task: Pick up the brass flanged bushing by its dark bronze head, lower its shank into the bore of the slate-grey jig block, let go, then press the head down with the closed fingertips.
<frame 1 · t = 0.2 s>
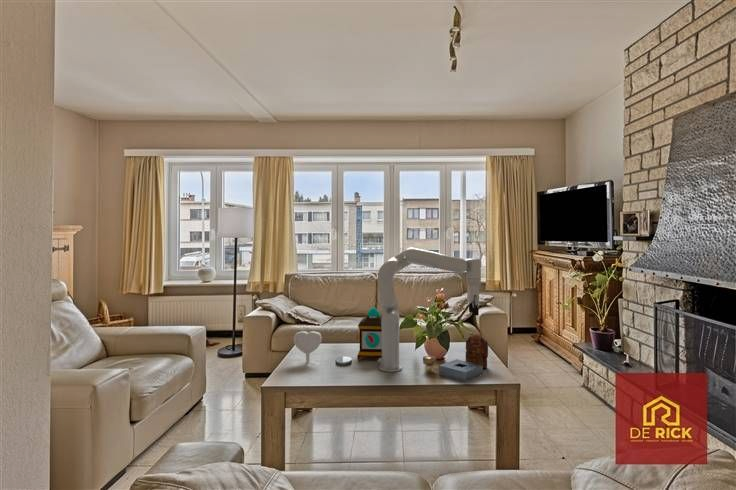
hand: (473, 313, 225), 31 cm above the table, tool pointing down, fingers open, 9 cm apart
wooden figurine: (476, 368, 231), on the table
heart sculpture: (307, 363, 240), on the table
decorative lantern: (373, 357, 252), on the table
jig: (460, 375, 219), on the table
bushing: (429, 371, 224), on the table
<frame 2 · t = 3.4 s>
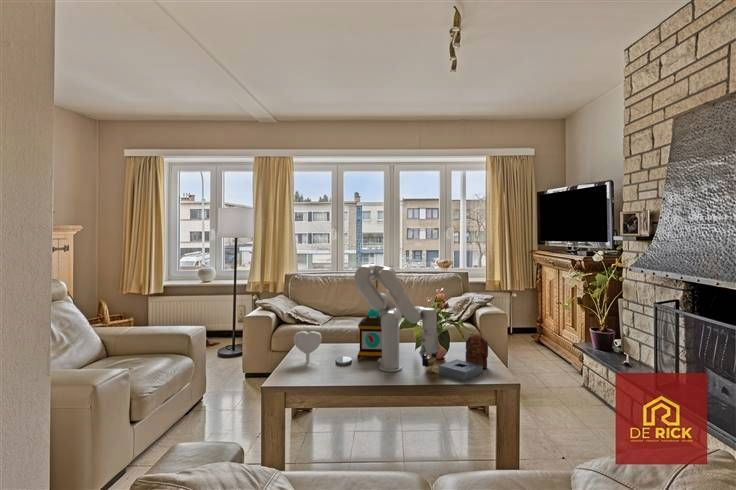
hand: (429, 364, 224), 4 cm above the table, tool pointing down, fingers closed on bushing, 6 cm apart
bushing: (429, 371, 225), on the table, touching gripper
everything else where it was.
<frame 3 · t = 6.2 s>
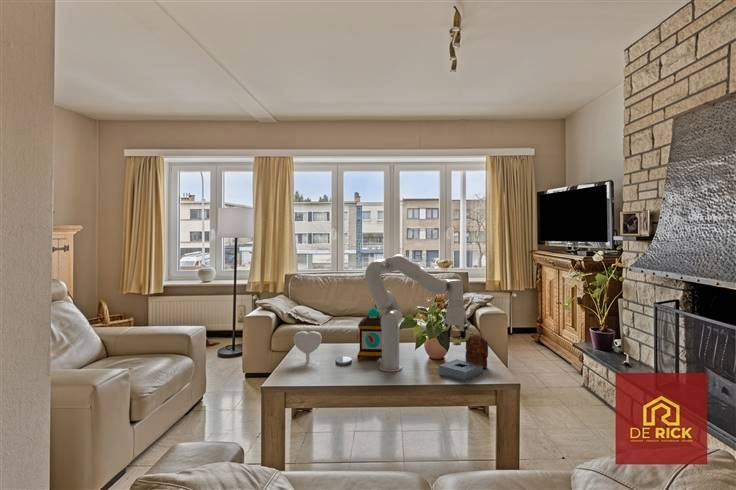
hand: (456, 337, 219), 19 cm above the table, tool pointing down, fingers closed on bushing, 6 cm apart
bushing: (456, 344, 219), point 16 cm above the table, touching gripper
everything else where it was.
when the fingers open (7 cm above the table, at t = 9.2 s): bushing drops 3 cm, resting on jig.
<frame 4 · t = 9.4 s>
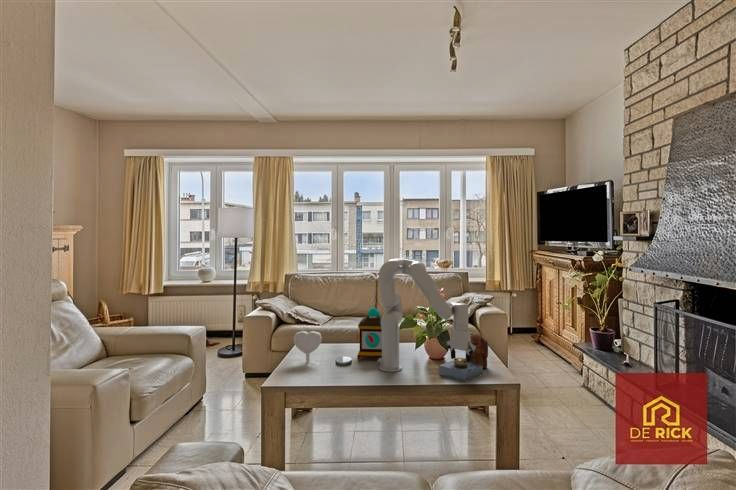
hand: (460, 360, 219), 8 cm above the table, tool pointing down, fingers open, 9 cm apart
bushing: (460, 374, 219), resting on jig
everything else where it was.
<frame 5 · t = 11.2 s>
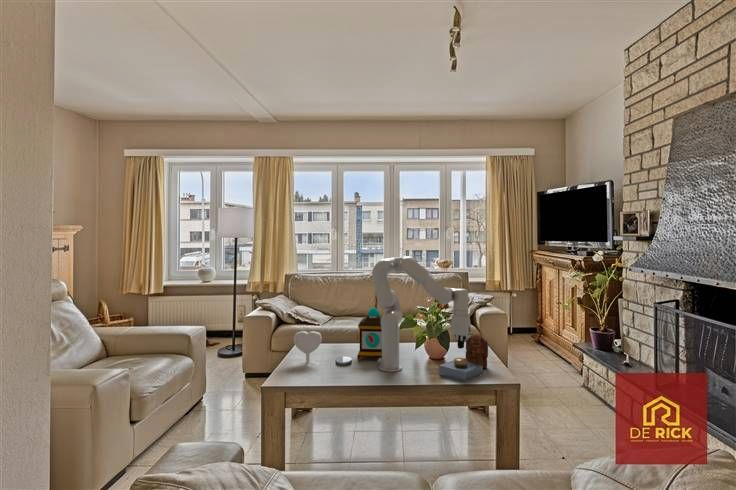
hand: (460, 347, 218), 14 cm above the table, tool pointing down, fingers closed
nothing on the table moved.
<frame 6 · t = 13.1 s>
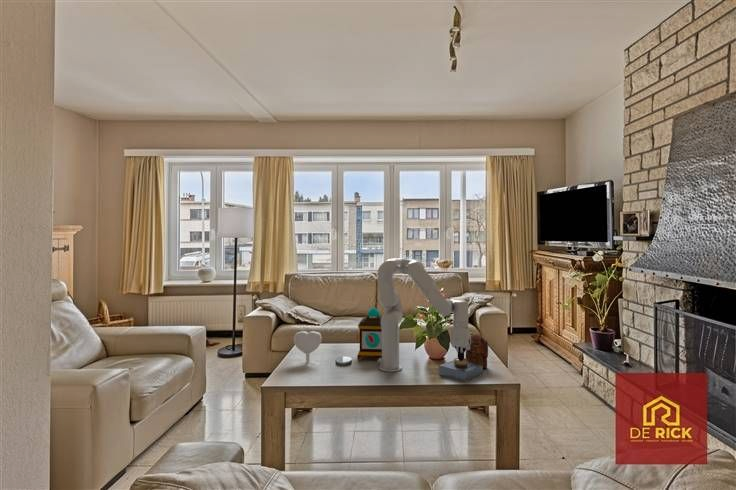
hand: (460, 359, 219), 8 cm above the table, tool pointing down, fingers closed
bushing: (460, 374, 219), resting on jig, touching gripper
everything else where it was.
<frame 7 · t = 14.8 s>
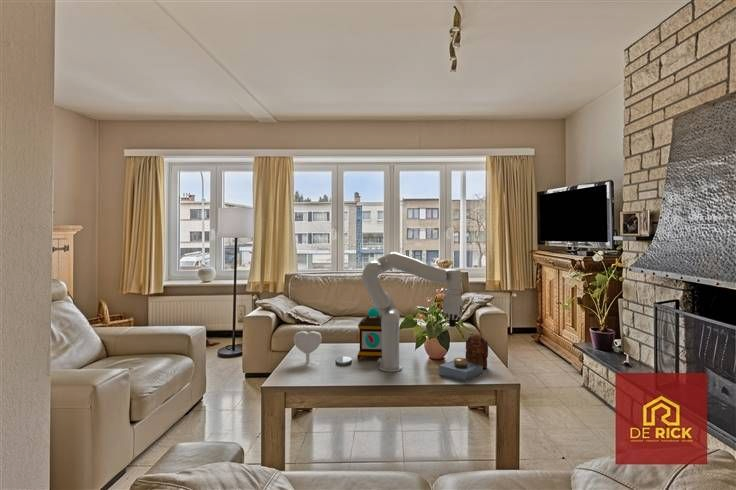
hand: (452, 326, 225), 24 cm above the table, tool pointing down, fingers closed
bushing: (460, 374, 219), resting on jig
everything else where it was.
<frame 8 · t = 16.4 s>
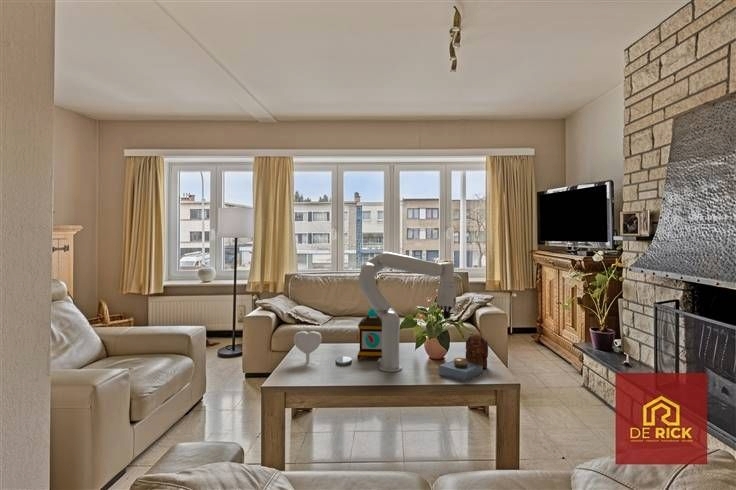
hand: (446, 318, 232), 27 cm above the table, tool pointing down, fingers closed
nothing on the table moved.
at the end: bushing 0.1 cm off-centre on the jig, point 0.5 cm above the jig's base; bushing tilted 0°; the gripper is holding nothing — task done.
